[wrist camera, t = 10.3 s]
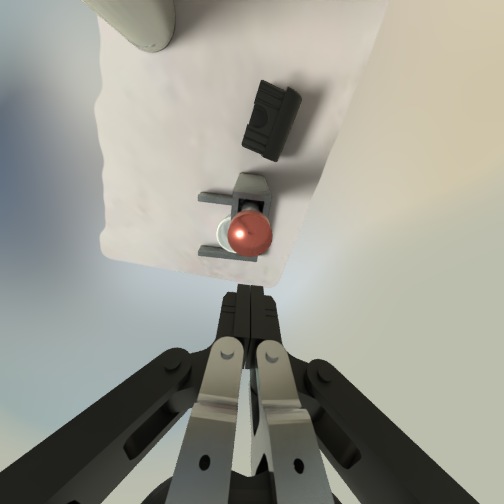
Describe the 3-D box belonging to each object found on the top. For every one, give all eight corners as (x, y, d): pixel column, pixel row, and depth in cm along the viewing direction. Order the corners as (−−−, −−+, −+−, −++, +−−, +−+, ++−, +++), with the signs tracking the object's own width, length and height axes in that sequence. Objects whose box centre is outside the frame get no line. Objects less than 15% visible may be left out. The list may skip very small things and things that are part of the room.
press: (201, 167, 40) (168, 182, 24) (269, 176, 41) (280, 197, 25) (201, 249, 49) (177, 299, 33) (256, 255, 50) (258, 306, 34)
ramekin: (216, 241, 48) (214, 249, 44) (221, 206, 44) (219, 212, 40) (251, 247, 49) (251, 256, 45) (259, 214, 45) (260, 221, 41)
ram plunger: (236, 188, 27) (229, 213, 18) (267, 192, 28) (276, 218, 18) (234, 218, 29) (225, 254, 20) (262, 221, 30) (268, 259, 20)
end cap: (274, 160, 39) (279, 163, 33) (241, 147, 38) (240, 147, 32) (297, 103, 35) (306, 95, 29) (260, 85, 34) (262, 73, 28)
